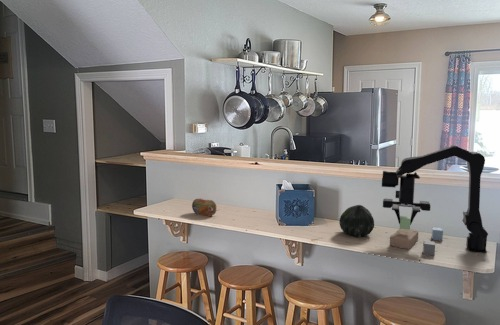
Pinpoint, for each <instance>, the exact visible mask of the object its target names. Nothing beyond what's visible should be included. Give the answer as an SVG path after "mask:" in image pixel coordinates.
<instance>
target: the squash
mask: <svg viewBox="0 0 500 325" xmlns="http://www.w3.org/2000/svg"><path fill="white" fill-rule="evenodd" d="M338 222H339V227H340V229H341V230H342V232H344V233H346V234H347V235H351V236H354V237H356V238H359V237H361V238H364V237H366V236H368V235H369V234H371V233H372V232H373V230H374V228H375V218H374V216H373V214H372V213H371V211H370V210H369V209H367V208H366V207H365V206H364V205H362V204H356V205H352V206H349V207H347V208H346V209H345V210H344V211H343V213H341V215H340V218H339V220H338Z"/></svg>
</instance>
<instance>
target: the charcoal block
mask: <svg viewBox="0 0 500 325" xmlns="http://www.w3.org/2000/svg"><path fill="white" fill-rule="evenodd" d="M422 244H423V246H422V254H423V255H424V256H425V255H426V256H435V255H436V254H435V253H436V243H435V241H429V240H423V242H422Z"/></svg>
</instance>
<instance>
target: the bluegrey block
mask: <svg viewBox="0 0 500 325" xmlns="http://www.w3.org/2000/svg"><path fill="white" fill-rule="evenodd" d="M443 235H444V230H443V227H431V239H432V240H433V241H443V237H444V236H443Z"/></svg>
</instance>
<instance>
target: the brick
mask: <svg viewBox="0 0 500 325" xmlns="http://www.w3.org/2000/svg"><path fill="white" fill-rule="evenodd" d="M418 240H419V230H416V229H411V228H410V229H400V228H399V229H397V231H396V232H394V233H393V234H391V235H390V236H389V245H390V246H391V247H395V248H400V249H405V250H410V249H411V248H413V246H415V244H416V242H418Z"/></svg>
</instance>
